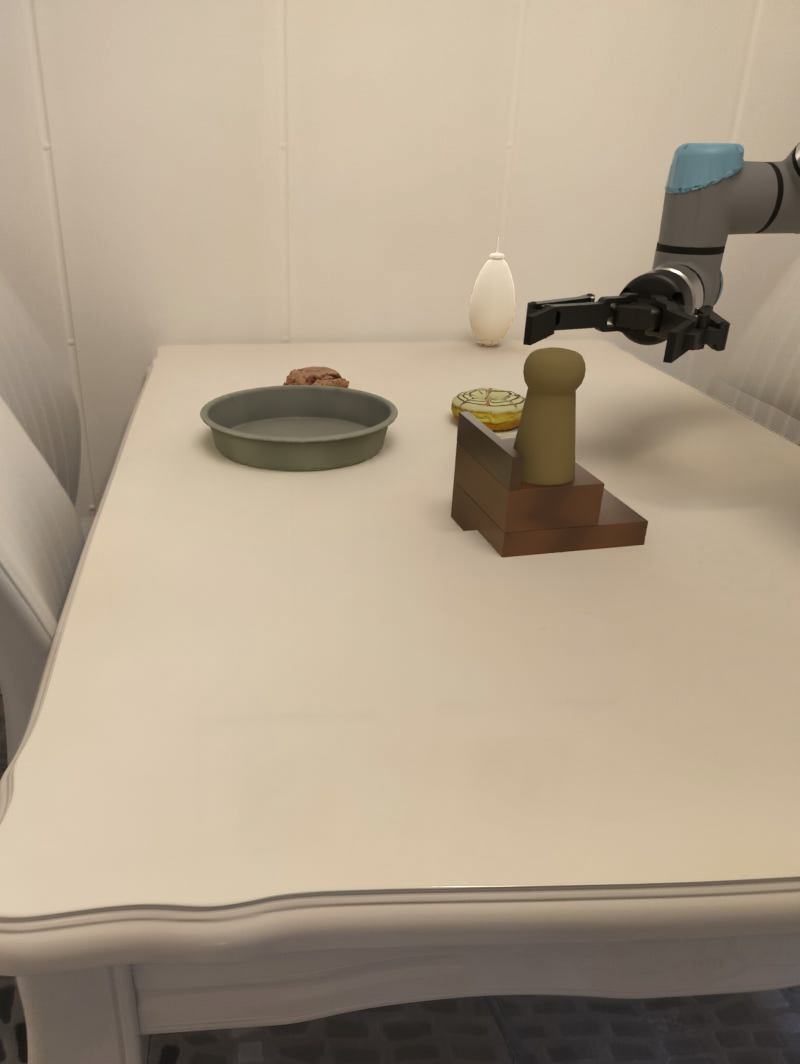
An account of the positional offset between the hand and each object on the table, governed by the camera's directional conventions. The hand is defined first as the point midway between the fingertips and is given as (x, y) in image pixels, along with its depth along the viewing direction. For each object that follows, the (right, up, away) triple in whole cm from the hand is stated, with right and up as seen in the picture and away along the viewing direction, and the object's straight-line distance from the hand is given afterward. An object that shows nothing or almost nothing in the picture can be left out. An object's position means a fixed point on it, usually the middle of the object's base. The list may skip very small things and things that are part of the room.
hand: (596, 338), depth 86 cm
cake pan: (-29, -4, +30) cm, 42 cm away
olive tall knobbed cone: (-6, -13, -3) cm, 15 cm away
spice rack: (-4, -18, +4) cm, 19 cm away
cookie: (-27, +9, +53) cm, 60 cm away
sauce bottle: (+5, +25, +79) cm, 83 cm away
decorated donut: (-3, +1, +38) cm, 38 cm away
